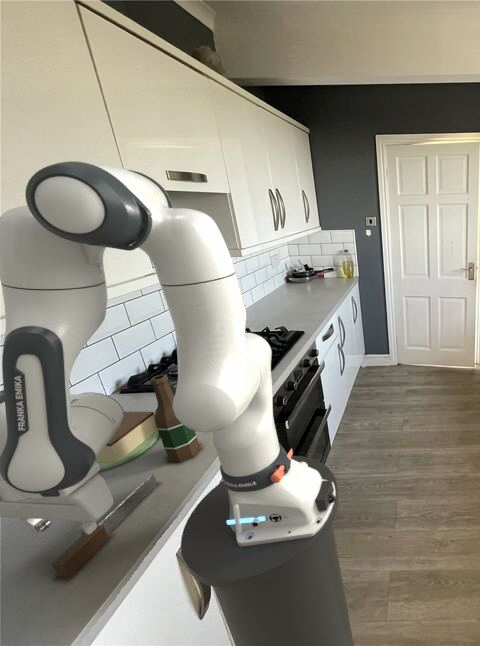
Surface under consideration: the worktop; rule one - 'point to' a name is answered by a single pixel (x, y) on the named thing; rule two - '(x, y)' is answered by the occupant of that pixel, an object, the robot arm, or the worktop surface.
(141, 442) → the cake
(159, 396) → the beer bottle
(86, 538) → the knife
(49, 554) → the worktop surface
